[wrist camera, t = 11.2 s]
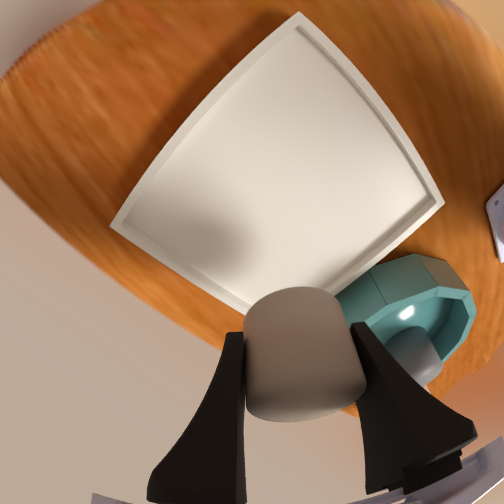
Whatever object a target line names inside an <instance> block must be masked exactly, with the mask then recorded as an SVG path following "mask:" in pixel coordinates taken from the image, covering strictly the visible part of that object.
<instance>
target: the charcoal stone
mask: <svg viewBox="0 0 504 504" xmlns="http://www.w3.org/2000/svg"><path fill="white" fill-rule="evenodd" d="M384 346H385V348H386V349H387V350H388V351H389V352H390V354H391V355H392V356H393V357H394V358H395V360H396V361H397V362H398V363H399V364H400V365H401V366H402V367H403V368H404V369H405V371H406V372H407V373H408V374H409V375H410V376H411V377H412V378H413V379H414V380H415V381H416V382H417V383H419V384H420V385H421V386H422V387H423V386H424V385H426V384H428V383H429V382H430V381H432V380H433V379H434V378H435V377H437V376H438V374H439V373H440V372H441V371H442V369H443V364H442V362H441V360H440V358H439V356H438V354H437V352H436V350H435V348H434V346H433V344H432V342H431V340H430V338H429V336H428V334H427V332H426V330H425V329H424V328H423V327H421V326H414V327H410V328H407V329H404V330H402V331H400V332H399V333H397V334H395V335H394V336H393V337H391V338H390V339H389V340H388V341H387V342H386V343H385V344H384Z"/></svg>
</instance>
